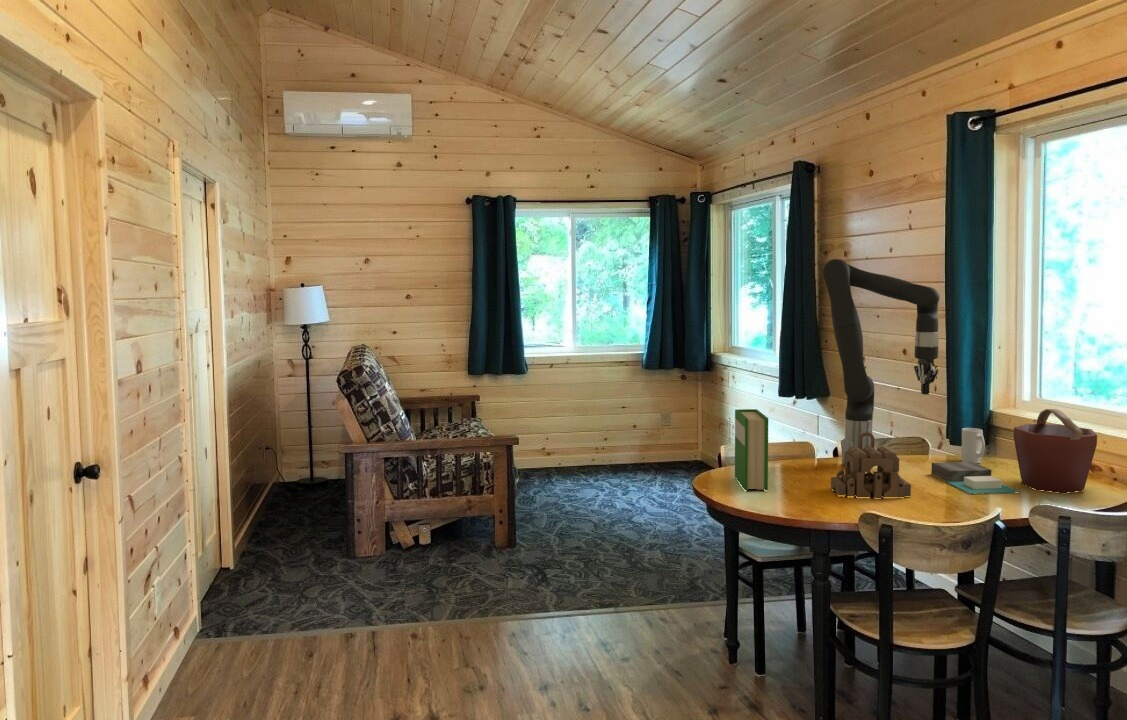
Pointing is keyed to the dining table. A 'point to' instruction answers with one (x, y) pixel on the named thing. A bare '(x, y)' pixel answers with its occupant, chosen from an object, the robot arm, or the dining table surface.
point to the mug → (972, 445)
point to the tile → (982, 482)
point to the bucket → (1054, 453)
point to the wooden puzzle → (878, 482)
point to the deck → (958, 470)
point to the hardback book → (751, 449)
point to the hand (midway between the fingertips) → (925, 394)
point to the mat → (970, 490)
